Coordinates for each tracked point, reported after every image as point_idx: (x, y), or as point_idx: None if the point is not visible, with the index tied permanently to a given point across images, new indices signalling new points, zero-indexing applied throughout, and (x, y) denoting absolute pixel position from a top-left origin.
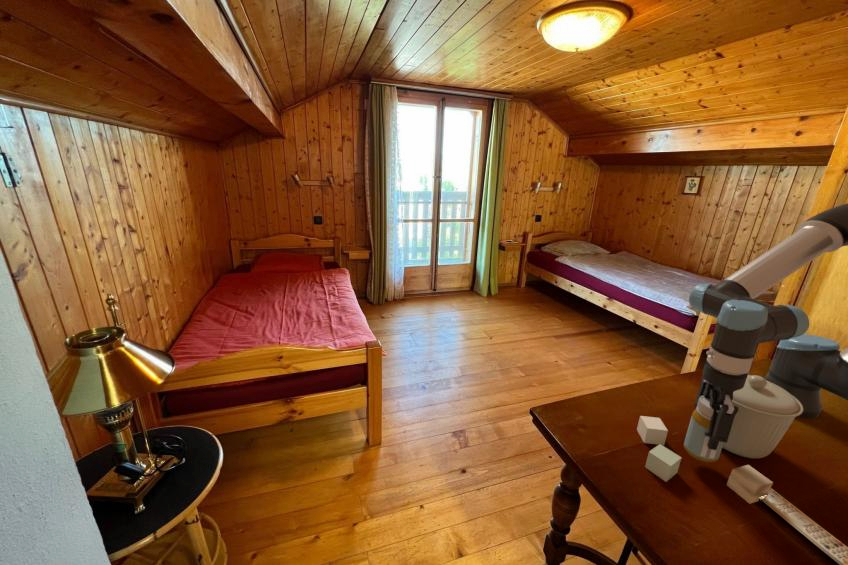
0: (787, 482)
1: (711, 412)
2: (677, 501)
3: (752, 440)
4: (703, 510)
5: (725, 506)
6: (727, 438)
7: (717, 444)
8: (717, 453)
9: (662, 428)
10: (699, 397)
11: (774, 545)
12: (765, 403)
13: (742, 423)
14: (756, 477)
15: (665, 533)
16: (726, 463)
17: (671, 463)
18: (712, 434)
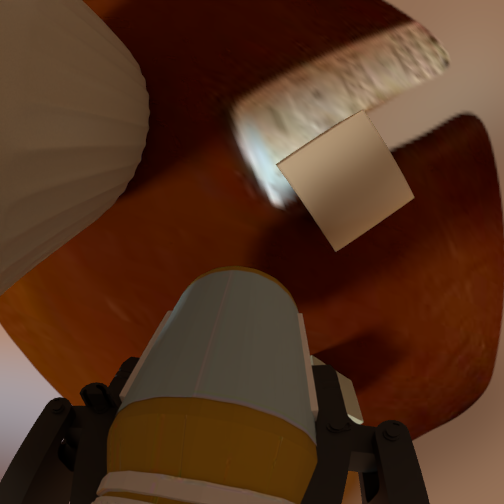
0: (225, 25)
1: None
2: (405, 366)
3: (117, 110)
4: (424, 321)
5: (407, 264)
6: (412, 450)
7: (342, 397)
8: (293, 316)
9: None
10: (68, 498)
11: (483, 194)
12: None
13: (51, 188)
14: (357, 167)
15: (464, 384)
16: (200, 188)
17: (352, 420)
18: (360, 476)
